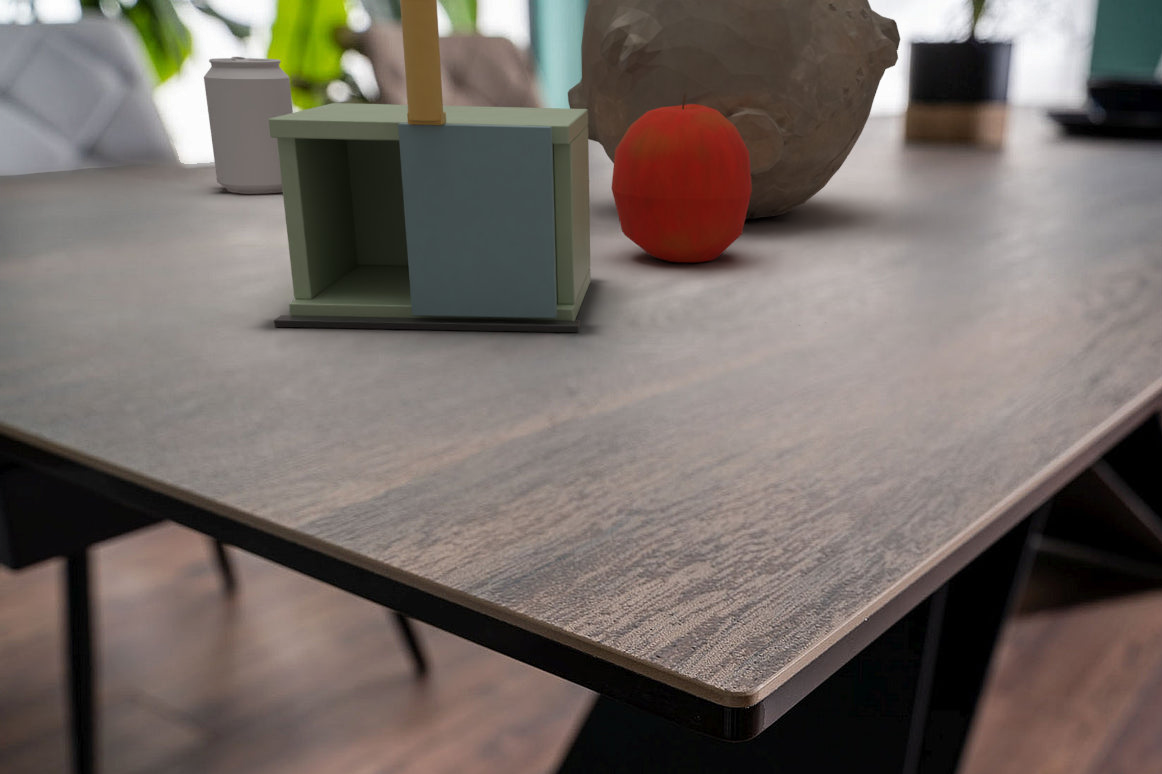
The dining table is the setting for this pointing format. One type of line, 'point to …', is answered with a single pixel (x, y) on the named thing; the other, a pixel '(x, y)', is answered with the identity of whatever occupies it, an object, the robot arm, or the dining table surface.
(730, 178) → the apple
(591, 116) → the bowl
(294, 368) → the dining table surface
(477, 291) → the door
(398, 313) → the cabinet
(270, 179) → the can
